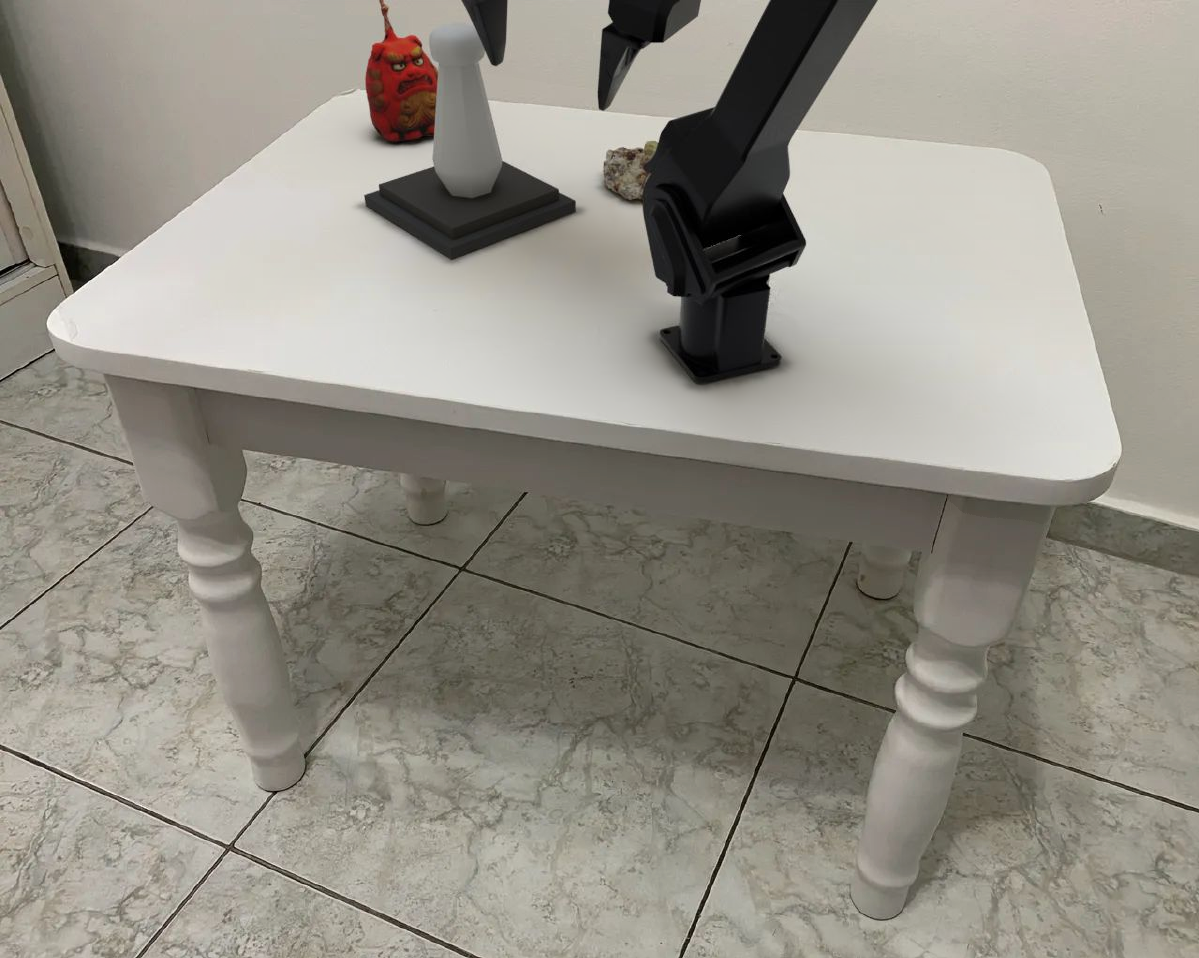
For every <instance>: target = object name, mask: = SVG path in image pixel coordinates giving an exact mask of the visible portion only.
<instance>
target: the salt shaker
mask: <svg viewBox="0 0 1199 958" xmlns="http://www.w3.org/2000/svg"><path fill="white" fill-rule="evenodd" d="M428 45H429V50H430V51H429V52H430V56H431V58H432V60H433V61H434V62H436V63H438V68H437V70H438V82H437V97H436V113H435V129H434V135H433V145H432V146H433V148H432V163H433V167H434V168H435V172H436V173H437V175H438V176H439V178H440V179H441V181H442V182H443V183H444V185H445V187H446V188H447V190H448V191H449V192H450V194H451V195H452V196H459V197H467V198H474V197H478V196H481V195H484V194H487V193H491V190H492V187H493V185H494V183H495V180H496V178H497V176H498V174H499V172H500V169H501V167H502V161H503V157H502V152H501V149H500V145H499V141H498V137H497V133H496V132H497V131H496V128H495V124H494V120H493V116H492V111H491V108H490V104H489V103H490V102H489V100H488V96H487V91H486V88H485V83H484V79H483V75H482V70H481V67H480V63H479V62H481V60H482V59H483V58H484V57H485V54H486V52H485V49H484V47H483V45H482V43H481V40H480V38H479V36H478V34H477V31H476V29H475V27H474V25H473V23H466V22H449V23H444V24H440V25H437V26H436V27H434V28H433V29H432V30H431V32H430V33H429V37H428Z"/></svg>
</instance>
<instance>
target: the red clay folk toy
mask: <svg viewBox="0 0 1199 958" xmlns="http://www.w3.org/2000/svg"><path fill="white" fill-rule="evenodd" d="M378 1H379V4H380V11H381V14H382V15H381V16H383V23H384V39H383V40H382V41H381V42H375V43H373V44H372V45H371V51H370V56H369V58H368V61H367V65H366V71H365V78H364V79H365V81H364V82H365V92H366V97H367V102H368V108H369V117H370V121H371V124H372V126H373V128H374V129H375V130H376V132H377V133H378V134H379V135H380V137H382V138H384V140H387V142H392V143H397V142H405V141H414V140H415V141H416V140H419V139H421V138H422V137H433V136H434V129H435V113H436V97H437V82H438V68H437V67H436V66H435V65H434V63H433V62H432V61H431V58H430V57H429V56H428V55H427V54H426V53H425V51H424V50H423V43H422V41H421V40H420V39H419V38H418V37H417V36H416V35H415V34H410V35H407V36H405V37H398V36H397V35H396V33H395V31H394V28H393V26H392V24H391V21H390V19H389V16H388V13H389V9H390V7H389V6H388V5H387V4H386V3H385V2H384V0H378Z"/></svg>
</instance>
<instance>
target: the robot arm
mask: <svg viewBox="0 0 1199 958" xmlns="http://www.w3.org/2000/svg"><path fill="white" fill-rule="evenodd" d="M878 1H879V0H769V1H768V3H767V5H766V7H765V9H764V10H763V13H762V14H761V17H760V18H759V20H758V22H757V24H756V26H755V28H754V30H753V32H752V34H751V35H750V38H749V39H748V41H747V44H746V46H745V47H744V49H743V51H742V53H741V55H740V56H739V59H738V61H737V63H736V65H735V66H734V69H733V71H732V73H731V74H730V76H729V79H728V81H727V82H726V84H725V87H724V89H723V90H722V92H721V94H720V96H719V98H718V100H717V102H716V104H715V106H713V107H710V108H706V109H702V110H700V111H695V112H693V113H690V114H687V115H683V116H680V117H677V118H674V119H670V120H668V121H667V123H666V124H665V126H664V128H662V130H661V132H660V135H659V138H658V141H657V142H658V145H657V148H656V151H655V154H654V155H653V157H652V158H651V160H650V161H649V162H647V163H646V164H645V165H643V169H644V171H646V172H648V173H650V174H649V176H648V177H647V179H646V182H645V185H644V189H643V197H642V199H641V201H642V214H643V222H644V226H645V230H646V236H647V241H648V245H649V251H650V256H651V262H652V267H653V271H654V275H655V278H656V279H658V280H659V281H661V282H663V283H665V286H666V293H667V294H668V295H670V296H672V297H677V298H680V308H679V325H675V326H669V327H665V328H662V329H660V331H659V339H660V340H661V341H662V343H663V344H664V345H665V346H666V347H667V349H668V350H669V352H671V354H672V356H673V357H674V358H675V359H676V360H677V361H678V362H679V363H680V365H681V366H682V367H683V368H684V370H685V371H686V373H687V374H688V375H689V376H690V377H691V379H692V380H693V381H694V382H696V383H701V384H703V383H707V382H712V381H716V380H720V379H725V378H730V377H733V376H734V377H735V376H738V375H743V374H747V373H751V372H755V371H759V370H763V369H767V368H772V367H777V366H779V365H781V364H782V363H781V362H782V355H781V354H780V353H779V352H778V350H776V349H775V347H774V346H773V345H772V344H770V342H769V341H768V340H767V339H766V338H765V336H766V327H767V319H768V311H769V302H770V294H771V286H770V278H771V275H772V274H774V273H776V272H778V271H782V270H783V269H786V268H791V267H794V266H796V265H797V264H798V262H799V260H800V258H801V256H802V255H803V252H804V250H805V249H806V247H807V240H806V238H805V235H804V234H803V232H802V229H801V227H800V225H799V223H798V221H797V219H796V217H795V215H794V213H793V211H792V208H791V206H790V204H789V203H788V200H787V198H786V196H785V194H784V192H785V190H786V187H787V185H788V182H789V181H790V178H791V164H790V153H789V145H790V143H791V140H792V138H793V137H794V135H795V133H796V132H797V130H798V128H799V127H800V126H801V124H802V122H803V121H804V119H805V117H806V116H807V114H808V112H809V111H810V109H811V108H812V107H813V104H814V103H815V101H816V100H817V98H818V96H819V95H820V93H821V92H822V91H823V88H824V87H825V85H826V84H827V82H828V81H829V79H830V77H831V76H832V75H833V73H834V71H835V70H836V68H837V66H838V65H839V64H840V61H841V60H842V58H843V57H844V55H845V53H846V52H847V50H848V49H849V47H850V45H851V44H852V42H853V41H854V39H855V38H856V36H857V34H858V33H859V31H860V30H861V28H862V27H863V25H864V24H865V22H866V20H867V19H868V17H869V16H870V14H871V12H872V11H873V9H874V7H875V6H876V4H877V3H878ZM461 3H462V4H463V7H464V8H465V10H466V12H467V14H468V16H469V18H470V20H471V22H472V25H474V27H475V29H476V31H477V34H478V36H479V38H480V40H481V43H482V45H483V47H484V49H485V54H486V56H487V58H488V60H489V63H490V65H491V66H493V67H498V66H500V65H501V64H503V62H504V59H505V53H506V45H507V32H508V31H507V26H508V4H509V3H508V0H461ZM701 3H702V0H608V8H607V14H608V16H609V18H610V20H611V23H609V24H608V25H606V26H605V27H603V28H602V30H601V37H600V38H601V39H600V52H599V53H600V54H599V67H598V80H597V81H598V82H597V105H598V110H599V111H602V112H604V111H606V110H607V109H608V108H609V107H610V106H611V105H612V103H613V101H614V99H615V97H616V96H617V93H618V92H619V90H620V88H621V86H622V84H623V82H624V81H625V78H626V77H627V75H628V72H629V71H630V69H631V67H632V66H633V64H634V62H635V60H636V58H637V57H638V55H639V53H640V52H641V50H643V49H645V48H647V47H649V46H650V45H651V44H663V43H665V42H666V41H668V40H669V39H670V38H671V37H673V36H674V35H676V34H677V33H678V32H679V31H681V30H682V29H683V28H685V27H686V26H687V25H688V24H690V23H691V22H693V21H694V20H695V19H697V18H698V17H699V14H700V8H701Z"/></svg>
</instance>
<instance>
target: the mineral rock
mask: <svg viewBox="0 0 1199 958" xmlns="http://www.w3.org/2000/svg"><path fill="white" fill-rule="evenodd" d="M658 142H659V141H656V140H648V141H646V142H645V144H644V148H643V147H635V148H626V147H624V146H622V147H618V148H616V149H611V148H609V149H608V150H606V152H605V160H604V161H603V165H602V166H603V167H602V168H603V178H604V180H603V181H604V182H603V183H604V184H605V185H606V187H607V188H608V189H611V191H613V192H615V193H617V194H619V195H621V196H622V197H623V198H625V199H626V200H628V201H633V200H635V199H636V200H642V197H643V189H644V185H645V182H646V179H647V177H648V176H649V174H650V173H648V172H646V171H644V169H643V165H645V164H646V163H647V162H649V161H650V160H651V158H652V157H653V155H654V154H655V151H656V148H657V145H658Z"/></svg>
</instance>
